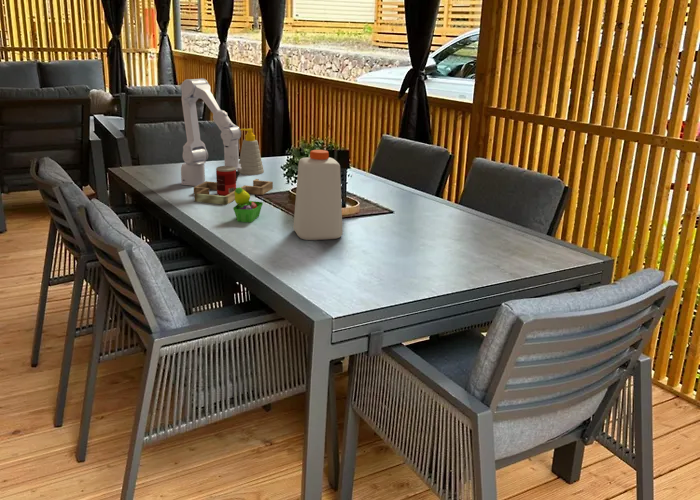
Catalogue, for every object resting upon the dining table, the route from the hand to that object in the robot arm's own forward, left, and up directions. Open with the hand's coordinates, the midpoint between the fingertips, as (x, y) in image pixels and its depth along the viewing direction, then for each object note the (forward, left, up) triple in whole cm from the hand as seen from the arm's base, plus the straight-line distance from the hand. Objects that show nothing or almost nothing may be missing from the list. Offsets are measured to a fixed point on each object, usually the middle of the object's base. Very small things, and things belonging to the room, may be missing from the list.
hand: (232, 188), depth 274 cm
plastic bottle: (+50, -45, -1) cm, 67 cm away
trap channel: (+1, -4, -1) cm, 4 cm away
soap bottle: (-7, +38, -1) cm, 39 cm away
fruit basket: (+21, -36, -1) cm, 42 cm away
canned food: (0, -6, -1) cm, 6 cm away
